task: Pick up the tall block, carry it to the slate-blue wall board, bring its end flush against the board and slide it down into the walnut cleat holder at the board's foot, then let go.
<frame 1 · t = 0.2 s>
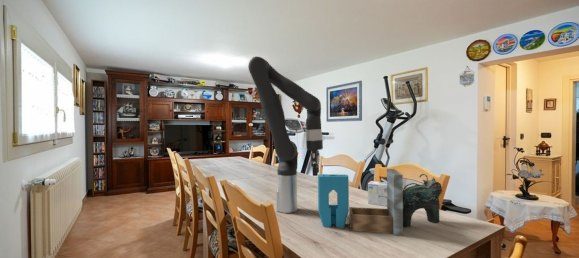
hand: (316, 174, 124), 18 cm above the table, tool pointing down, fingers open, 8 cm apart
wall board: (394, 228, 103), on the table
dark green elephant figurine: (420, 224, 108), on the table
light bulb box: (379, 204, 137), on the table
block: (333, 225, 108), on the table
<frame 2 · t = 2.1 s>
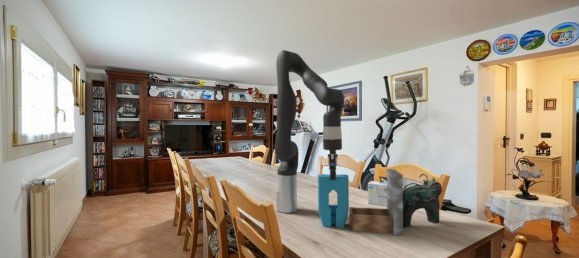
hand: (333, 178, 108), 19 cm above the table, tool pointing down, fingers open, 8 cm apart
nothing on the table moved.
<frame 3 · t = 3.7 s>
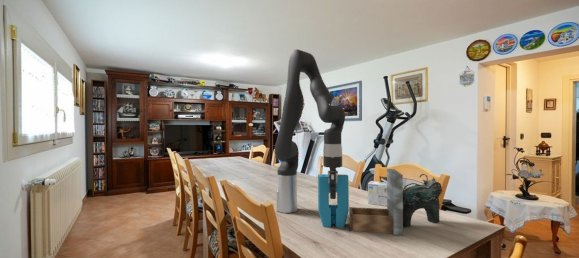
hand: (333, 196, 108), 11 cm above the table, tool pointing down, fingers closed on block, 5 cm apart
block: (333, 225, 108), on the table, touching gripper
everything else where it was.
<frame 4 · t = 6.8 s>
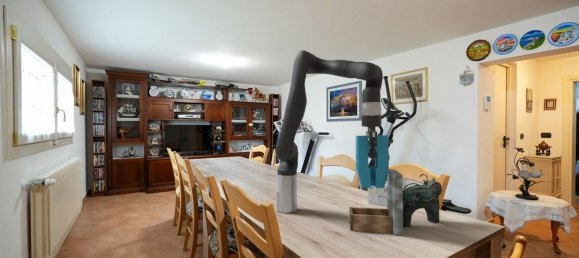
hand: (371, 157, 105), 27 cm above the table, tool pointing down, fingers closed on block, 5 cm apart
block: (372, 186, 105), point 16 cm above the table, touching gripper
everything else where it was.
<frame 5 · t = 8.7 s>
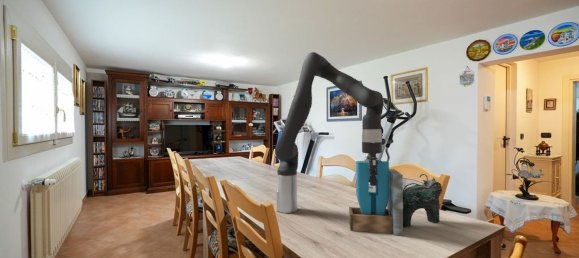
hand: (372, 183, 105), 17 cm above the table, tool pointing down, fingers closed on block, 5 cm apart
block: (372, 213, 105), point 5 cm above the table, touching gripper
everything else where it was.
when the fingers open (16 cm above the table, at t = 9.9 s): block drops 1 cm, resting on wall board.
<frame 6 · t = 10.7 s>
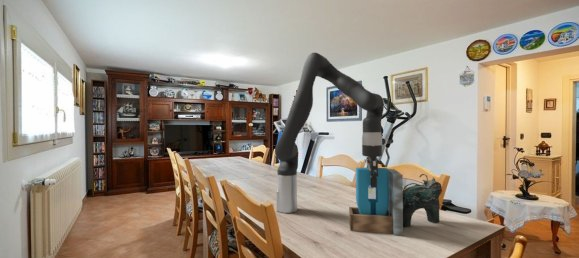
hand: (372, 185, 105), 17 cm above the table, tool pointing down, fingers open, 8 cm apart
block: (372, 219, 105), point 3 cm above the table, touching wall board
everything else where it was.
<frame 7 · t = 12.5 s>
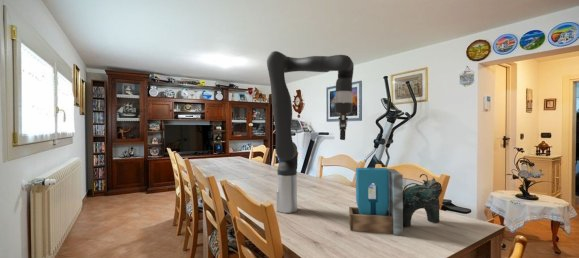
hand: (342, 139, 117), 34 cm above the table, tool pointing down, fingers open, 8 cm apart
nothing on the table moved.
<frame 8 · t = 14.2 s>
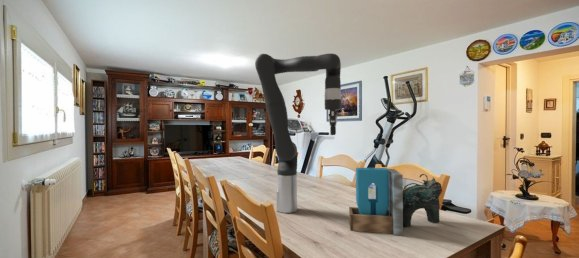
hand: (333, 134, 121), 36 cm above the table, tool pointing down, fingers open, 8 cm apart
nothing on the table moved.
at the end: block inside the target area (0.0 cm from its centre), point 2.8 cm above the table; block tilted 0°; the gripper is holding nothing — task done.
